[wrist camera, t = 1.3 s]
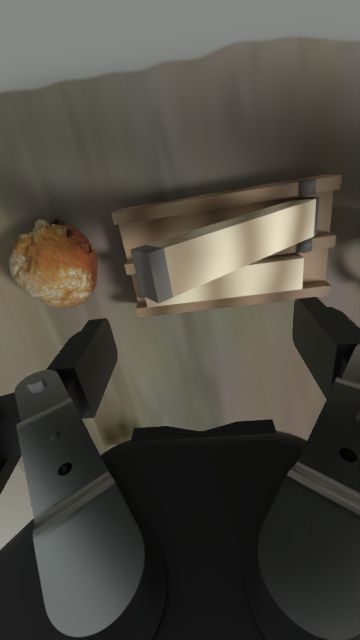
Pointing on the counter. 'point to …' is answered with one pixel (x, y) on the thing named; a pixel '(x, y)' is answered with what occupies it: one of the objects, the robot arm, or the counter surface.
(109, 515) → the robot arm
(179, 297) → the wooden slat frame
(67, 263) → the bread roll
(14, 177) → the counter surface
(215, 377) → the counter surface
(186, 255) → the hinged leg
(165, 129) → the counter surface
